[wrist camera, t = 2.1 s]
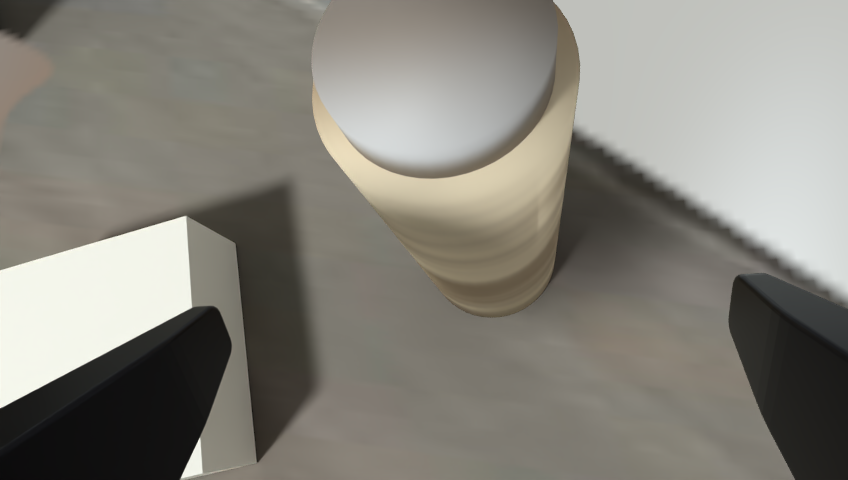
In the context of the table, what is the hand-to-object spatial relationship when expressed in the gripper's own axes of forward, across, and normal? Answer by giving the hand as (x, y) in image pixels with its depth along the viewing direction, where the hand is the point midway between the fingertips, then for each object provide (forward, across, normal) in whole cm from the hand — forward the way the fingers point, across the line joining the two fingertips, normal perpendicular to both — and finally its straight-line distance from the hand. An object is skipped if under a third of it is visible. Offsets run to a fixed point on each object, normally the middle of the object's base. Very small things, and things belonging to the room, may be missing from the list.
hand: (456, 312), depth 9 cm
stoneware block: (+8, +14, +8) cm, 18 cm away
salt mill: (+10, 0, +5) cm, 12 cm away
